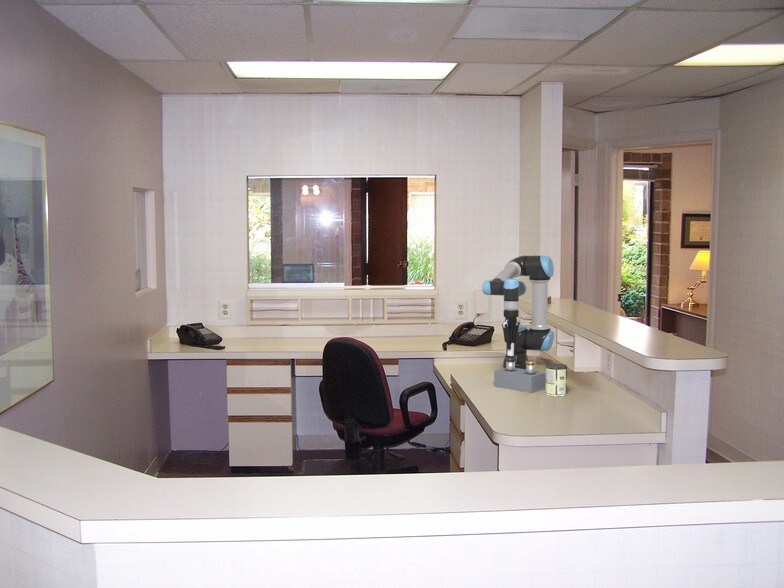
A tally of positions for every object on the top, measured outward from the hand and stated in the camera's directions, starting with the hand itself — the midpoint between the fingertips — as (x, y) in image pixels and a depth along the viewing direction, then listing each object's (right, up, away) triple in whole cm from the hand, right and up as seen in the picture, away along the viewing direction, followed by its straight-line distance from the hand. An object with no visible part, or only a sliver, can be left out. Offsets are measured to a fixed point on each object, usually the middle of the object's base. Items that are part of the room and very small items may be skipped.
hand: (510, 355), depth 362 cm
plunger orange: (+9, -11, -7) cm, 16 cm away
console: (+4, -16, -3) cm, 17 cm away
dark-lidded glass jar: (0, -10, +1) cm, 10 cm away
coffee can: (+19, -17, -18) cm, 31 cm away
